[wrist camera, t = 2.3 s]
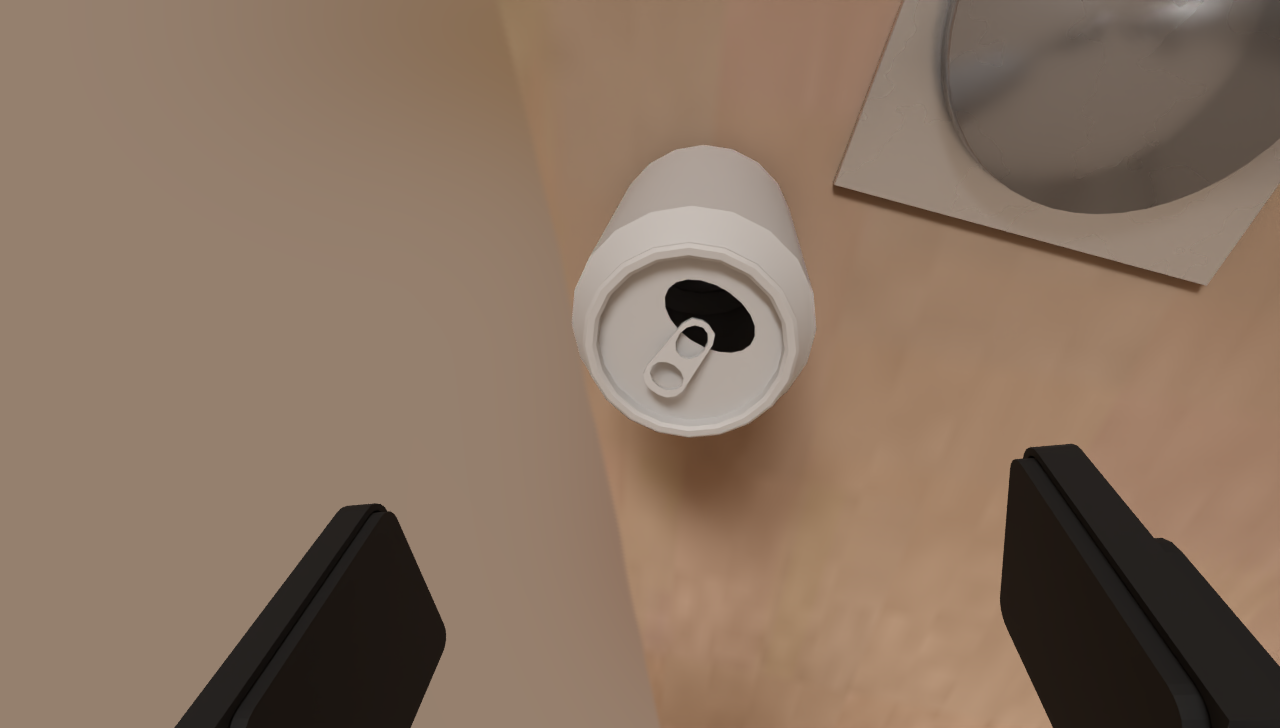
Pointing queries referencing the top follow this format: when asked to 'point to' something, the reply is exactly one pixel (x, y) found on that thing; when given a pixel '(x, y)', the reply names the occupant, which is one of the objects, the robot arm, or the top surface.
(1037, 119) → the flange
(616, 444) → the top surface
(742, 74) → the top surface
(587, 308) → the can
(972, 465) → the top surface
